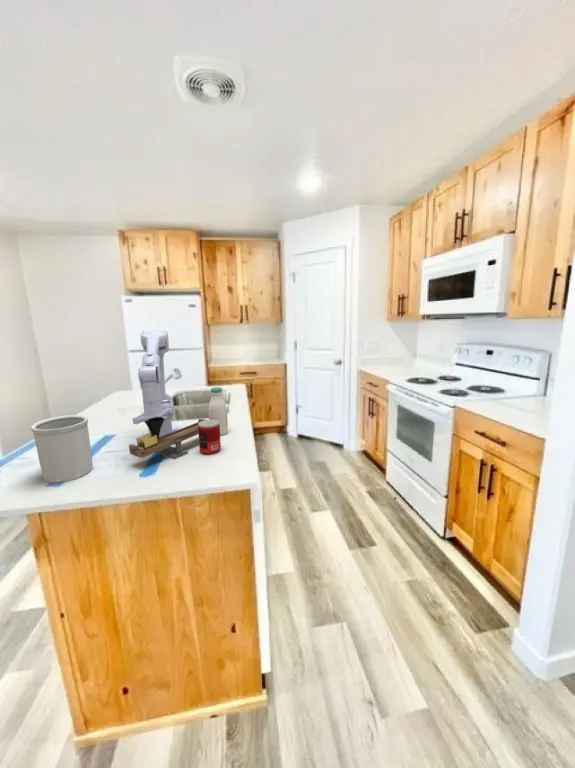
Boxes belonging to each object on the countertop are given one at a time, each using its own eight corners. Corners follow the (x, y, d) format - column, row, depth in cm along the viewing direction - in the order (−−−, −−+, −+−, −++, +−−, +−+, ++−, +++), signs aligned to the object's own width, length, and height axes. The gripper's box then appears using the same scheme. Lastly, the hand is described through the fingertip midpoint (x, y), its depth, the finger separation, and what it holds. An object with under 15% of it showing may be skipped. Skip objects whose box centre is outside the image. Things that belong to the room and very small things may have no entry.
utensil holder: (62, 487, 99) (53, 431, 96) (29, 479, 104) (19, 426, 101) (104, 466, 113) (98, 417, 109) (73, 460, 118) (66, 413, 114)
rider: (137, 449, 113) (136, 438, 113) (150, 443, 118) (148, 433, 117) (145, 451, 111) (144, 440, 111) (158, 445, 116) (156, 435, 115)
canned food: (223, 446, 129) (221, 419, 126) (217, 455, 121) (215, 426, 119) (204, 446, 129) (202, 419, 127) (196, 454, 122) (194, 426, 119)
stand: (155, 452, 124) (153, 438, 123) (168, 447, 129) (167, 433, 128) (174, 459, 118) (173, 443, 117) (188, 453, 123) (186, 438, 122)
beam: (129, 453, 113) (128, 445, 112) (200, 425, 139) (199, 418, 138) (142, 458, 109) (141, 449, 108) (212, 428, 136) (211, 420, 135)
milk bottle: (226, 436, 140) (223, 389, 136) (207, 436, 140) (204, 389, 136) (229, 430, 148) (227, 385, 144) (212, 430, 148) (209, 386, 144)
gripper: (140, 407, 106) (144, 447, 109) (177, 397, 118) (180, 434, 121) (127, 404, 110) (131, 443, 112) (164, 395, 122) (167, 430, 124)
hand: (155, 438), depth 117 cm, fingers closed
